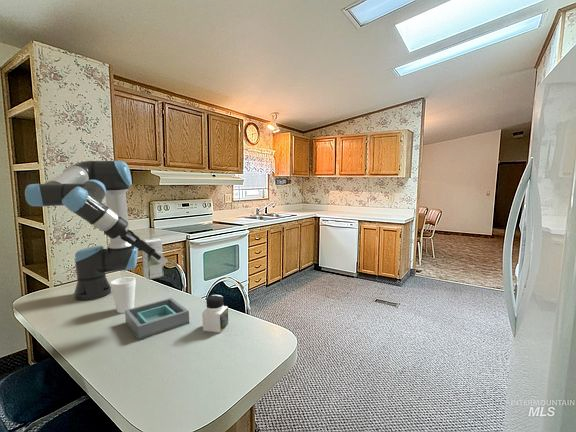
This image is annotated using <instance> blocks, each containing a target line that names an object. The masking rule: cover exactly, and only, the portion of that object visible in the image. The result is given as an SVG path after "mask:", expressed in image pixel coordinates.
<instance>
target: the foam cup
mask: <svg viewBox="0 0 576 432" xmlns="http://www.w3.org/2000/svg"><path fill="white" fill-rule="evenodd" d="M136 281H137V280H136V277H134V276H133V277H132V276H127V277H119V278H115V279H112V280H111V281H110V282H109V284H110V286H111V292H112V296H113V300H114V304H115V310H116V312H117V313H118V314H125V310H128V309H132V308H135V297H136V296H135V295H136V294H135V293H136V285H137V282H136Z"/></svg>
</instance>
